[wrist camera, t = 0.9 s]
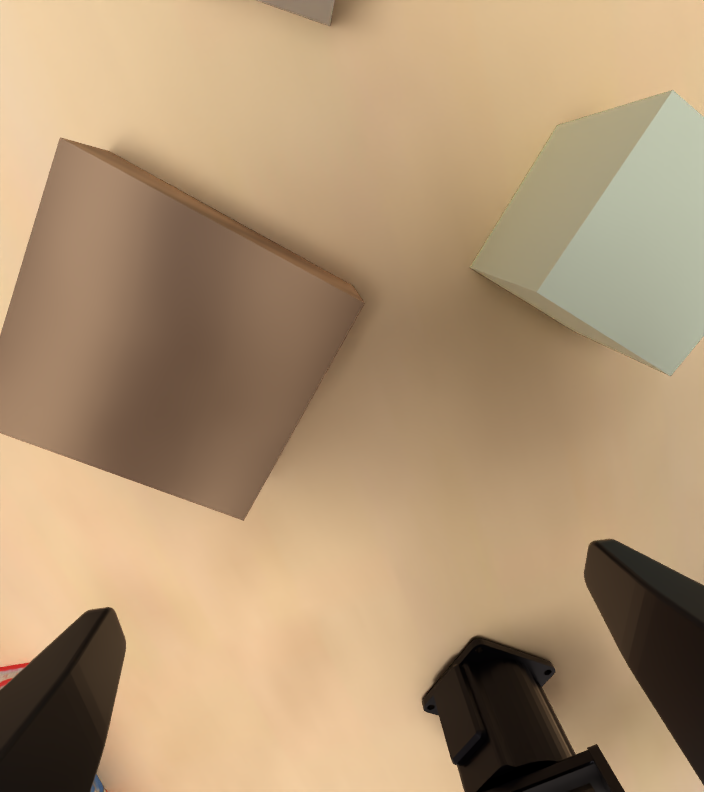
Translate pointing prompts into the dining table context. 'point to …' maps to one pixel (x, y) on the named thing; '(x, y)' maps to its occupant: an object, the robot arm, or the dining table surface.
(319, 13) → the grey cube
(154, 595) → the dining table surface
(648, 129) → the sage cube
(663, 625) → the robot arm
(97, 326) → the walnut block
